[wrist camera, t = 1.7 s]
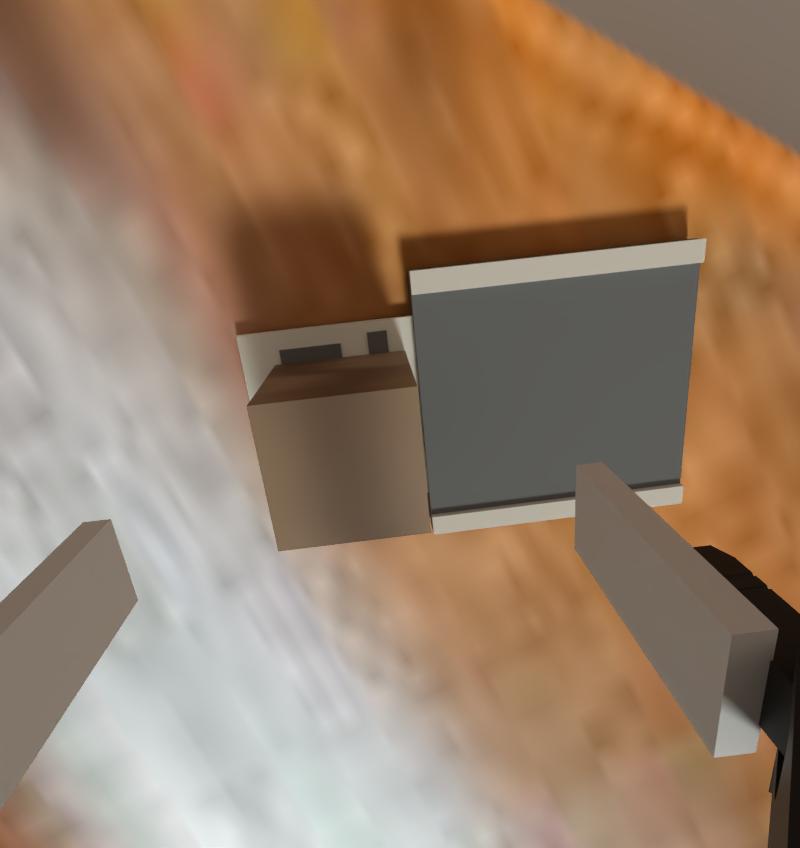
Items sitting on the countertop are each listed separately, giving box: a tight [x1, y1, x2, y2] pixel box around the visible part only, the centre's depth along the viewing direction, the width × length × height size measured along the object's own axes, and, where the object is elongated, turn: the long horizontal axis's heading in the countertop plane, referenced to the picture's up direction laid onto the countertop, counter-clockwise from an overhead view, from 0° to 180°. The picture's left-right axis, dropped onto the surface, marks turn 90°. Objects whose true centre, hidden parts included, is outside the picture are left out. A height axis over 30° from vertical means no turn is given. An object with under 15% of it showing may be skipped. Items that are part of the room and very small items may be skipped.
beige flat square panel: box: [236, 315, 429, 493], centre depth 25 cm, size 9×9×1 cm
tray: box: [408, 238, 706, 535], centre depth 25 cm, size 13×13×1 cm
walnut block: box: [247, 350, 431, 551], centre depth 22 cm, size 6×6×6 cm
